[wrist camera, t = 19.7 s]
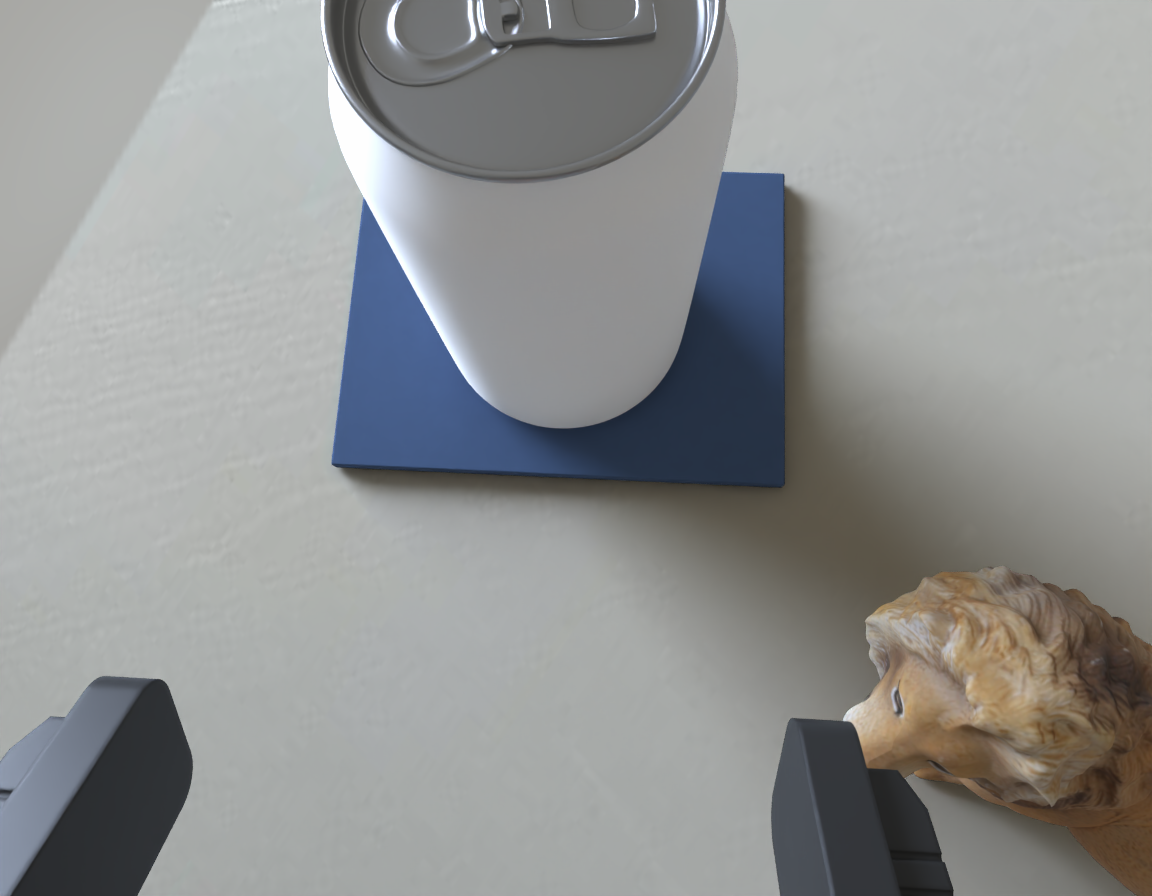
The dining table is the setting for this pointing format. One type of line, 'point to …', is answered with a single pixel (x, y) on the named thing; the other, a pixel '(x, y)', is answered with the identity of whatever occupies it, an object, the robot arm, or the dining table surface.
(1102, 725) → the lion figurine
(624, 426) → the blue mat
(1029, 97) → the dining table surface
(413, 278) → the can
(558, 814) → the dining table surface
